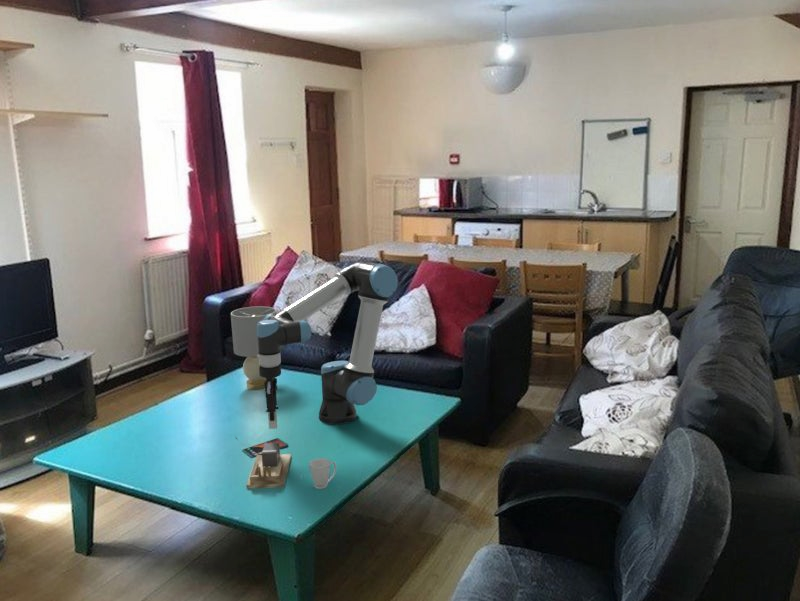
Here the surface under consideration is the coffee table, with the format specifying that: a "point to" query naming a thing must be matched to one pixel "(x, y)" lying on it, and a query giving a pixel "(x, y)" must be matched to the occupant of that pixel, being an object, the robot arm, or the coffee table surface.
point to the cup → (321, 472)
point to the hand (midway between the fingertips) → (273, 427)
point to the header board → (269, 473)
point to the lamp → (249, 341)
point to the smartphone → (258, 448)
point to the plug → (270, 454)
